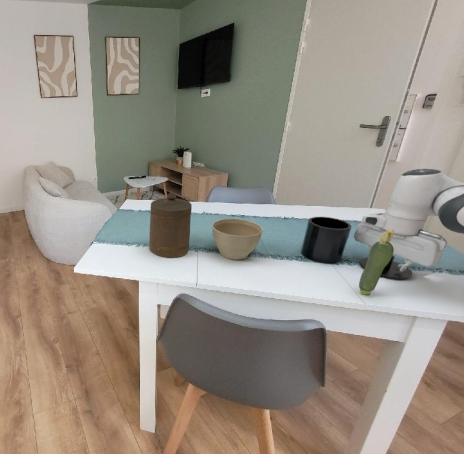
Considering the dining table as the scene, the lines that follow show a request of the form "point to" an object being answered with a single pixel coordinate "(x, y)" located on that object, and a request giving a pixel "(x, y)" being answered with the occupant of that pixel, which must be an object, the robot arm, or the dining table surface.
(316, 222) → the trash can
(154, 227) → the wooden container
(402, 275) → the bin lid
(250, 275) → the dining table surface
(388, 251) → the vegetable
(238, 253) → the planter bowl
